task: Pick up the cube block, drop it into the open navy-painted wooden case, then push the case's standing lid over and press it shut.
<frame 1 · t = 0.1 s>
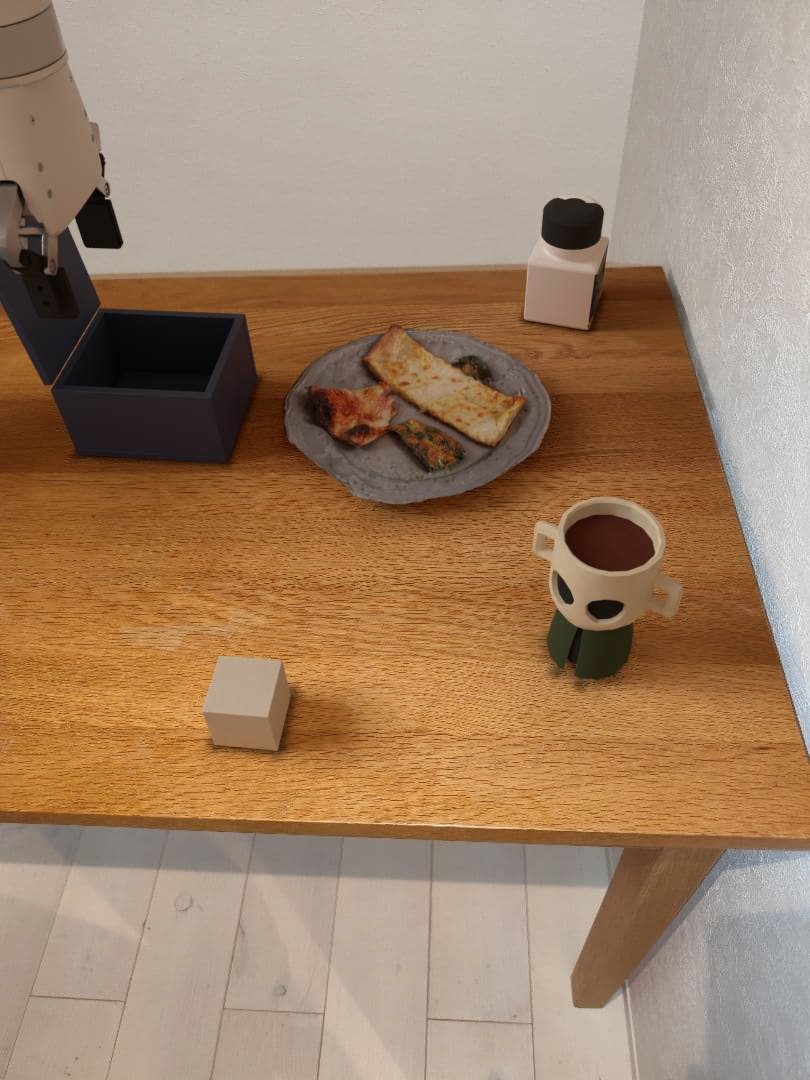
hand: (83, 280, 69), 19 cm above the table, tool pointing down, fingers open, 9 cm apart
lid: (39, 268, 77), point 16 cm above the table, hinge at 95.0°
food plate: (414, 423, 86), on the table
medicine bottle: (562, 309, 98), on the table
character mug: (587, 650, 68), on the table
cube block: (253, 719, 65), on the table
case: (171, 415, 88), on the table
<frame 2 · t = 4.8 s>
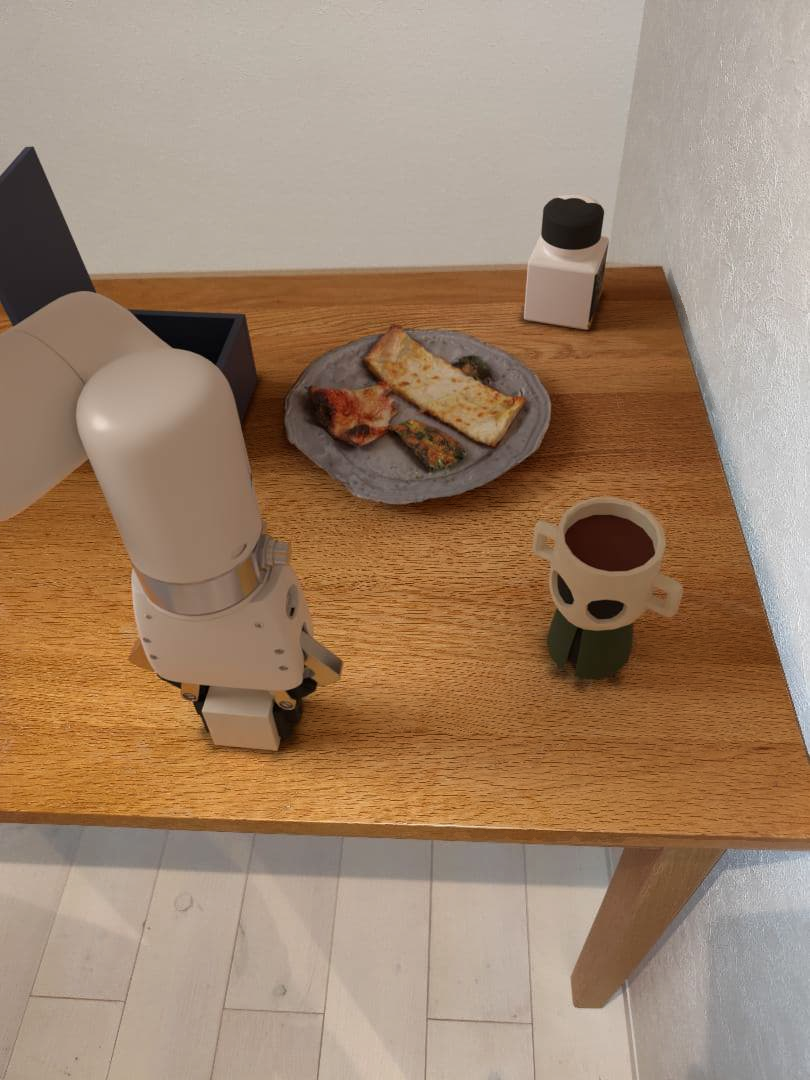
hand: (252, 717, 64), 0 cm above the table, tool pointing down, fingers closed on cube block, 4 cm apart
cube block: (253, 719, 65), on the table, touching gripper
everything else where it was.
when the fingers open (5 cm above the table, at t = 11.8 s): cube block drops 4 cm, resting on case.
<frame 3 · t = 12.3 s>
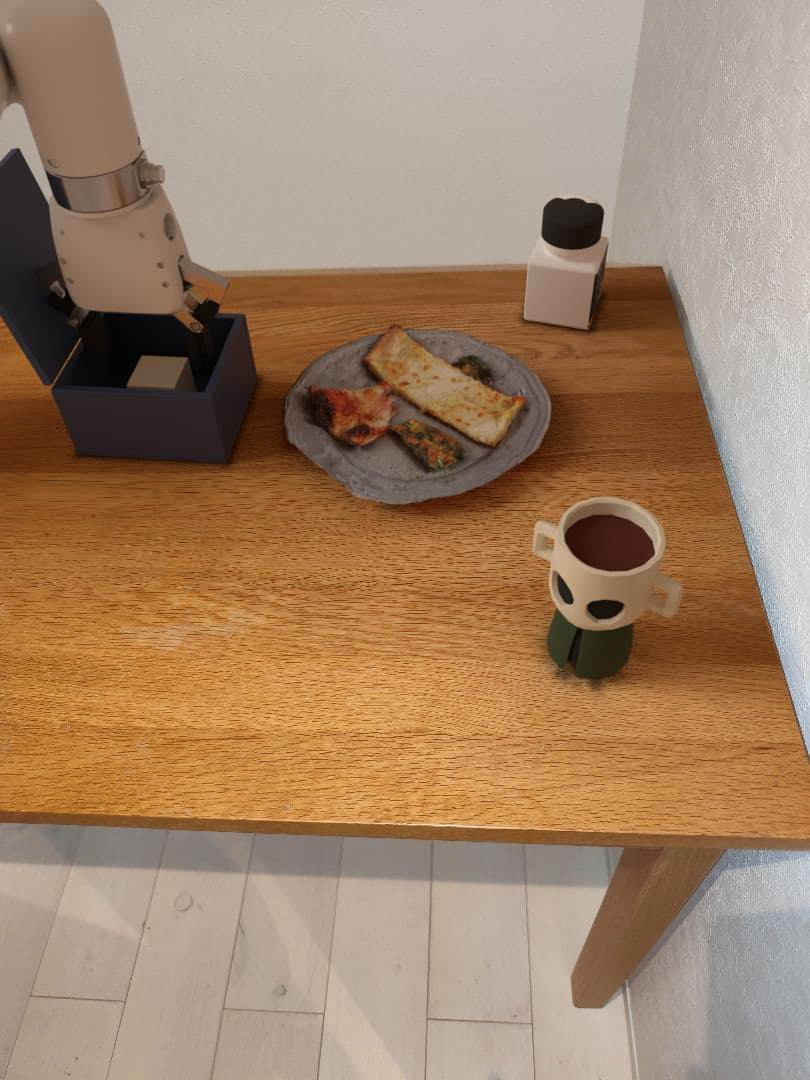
hand: (151, 357, 82), 7 cm above the table, tool pointing down, fingers open, 9 cm apart
lid: (31, 269, 77), point 16 cm above the table, hinge at 100.0°
cube block: (168, 409, 87), point 1 cm above the table, touching case
everything else where it was.
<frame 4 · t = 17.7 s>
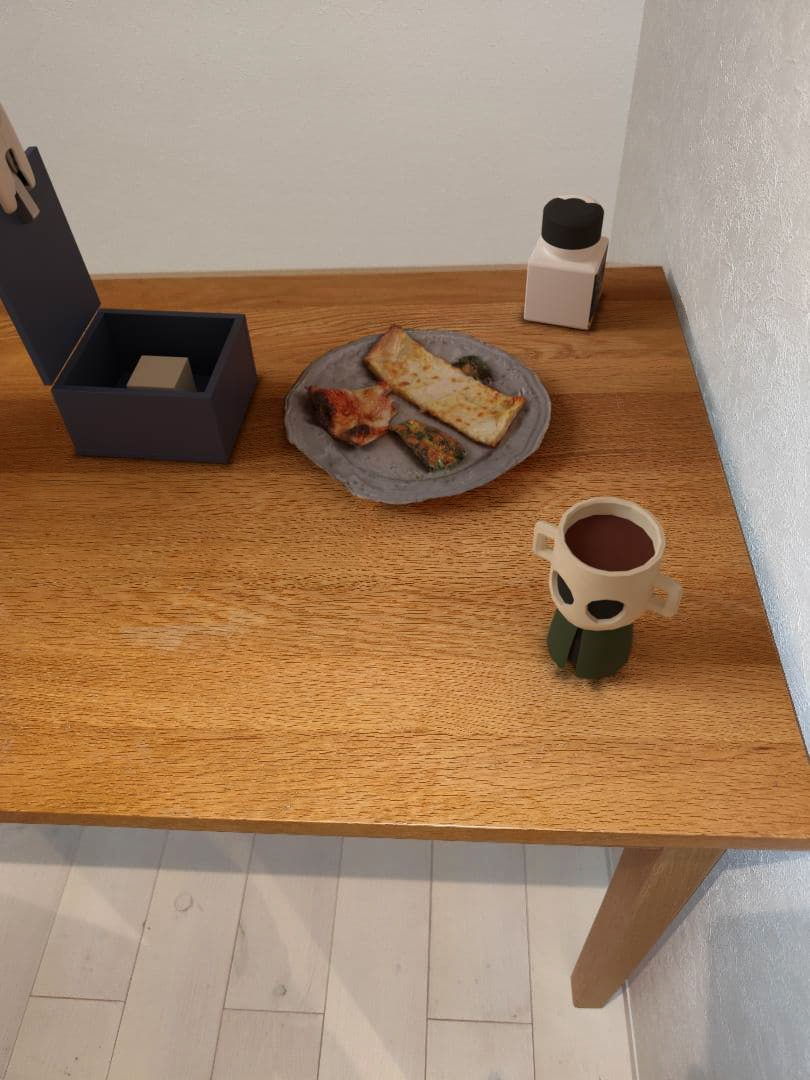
hand: (5, 281, 78), 14 cm above the table, tool pointing down, fingers closed
lid: (40, 268, 77), point 16 cm above the table, hinge at 93.8°, touching gripper
everything else where it was.
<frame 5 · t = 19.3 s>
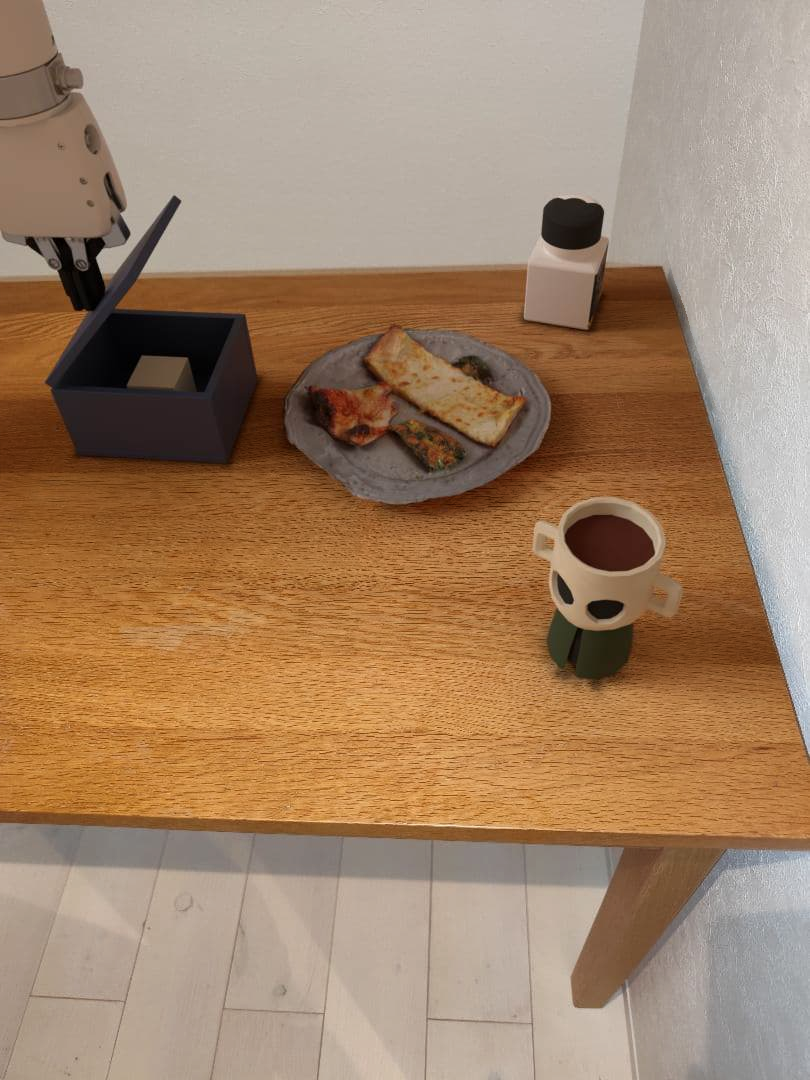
hand: (89, 302, 79), 13 cm above the table, tool pointing down, fingers closed
lid: (112, 292, 78), point 14 cm above the table, hinge at 46.2°, touching gripper
everything else where it was.
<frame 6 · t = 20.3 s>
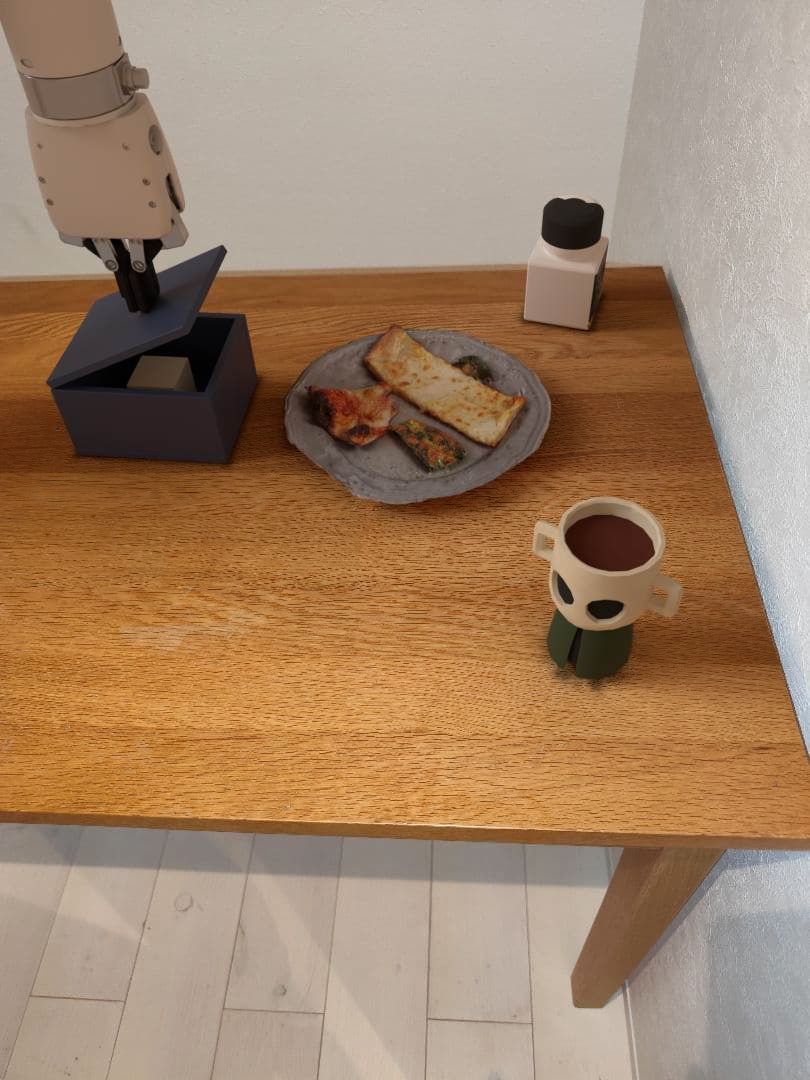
hand: (144, 303, 78), 13 cm above the table, tool pointing down, fingers closed
lid: (137, 315, 79), point 11 cm above the table, hinge at 24.9°, touching gripper
everything else where it was.
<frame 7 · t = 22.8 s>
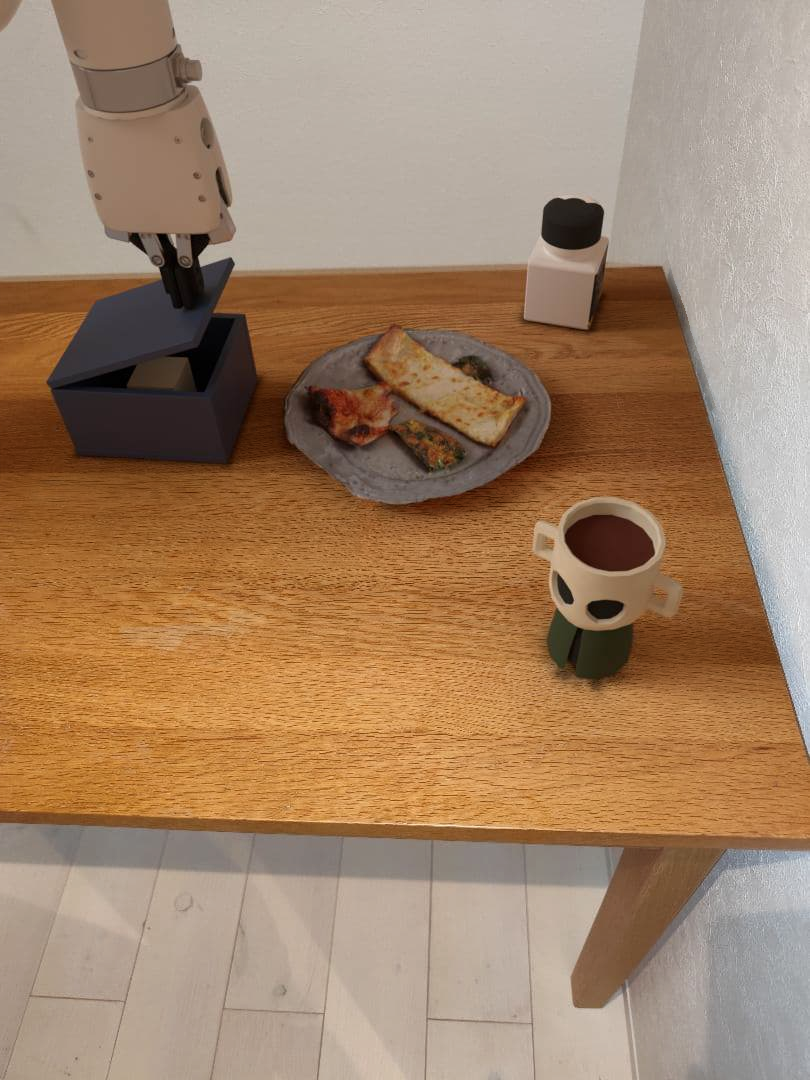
hand: (188, 299, 77), 13 cm above the table, tool pointing down, fingers closed
lid: (142, 321, 80), point 11 cm above the table, hinge at 19.9°, touching gripper
everything else where it was.
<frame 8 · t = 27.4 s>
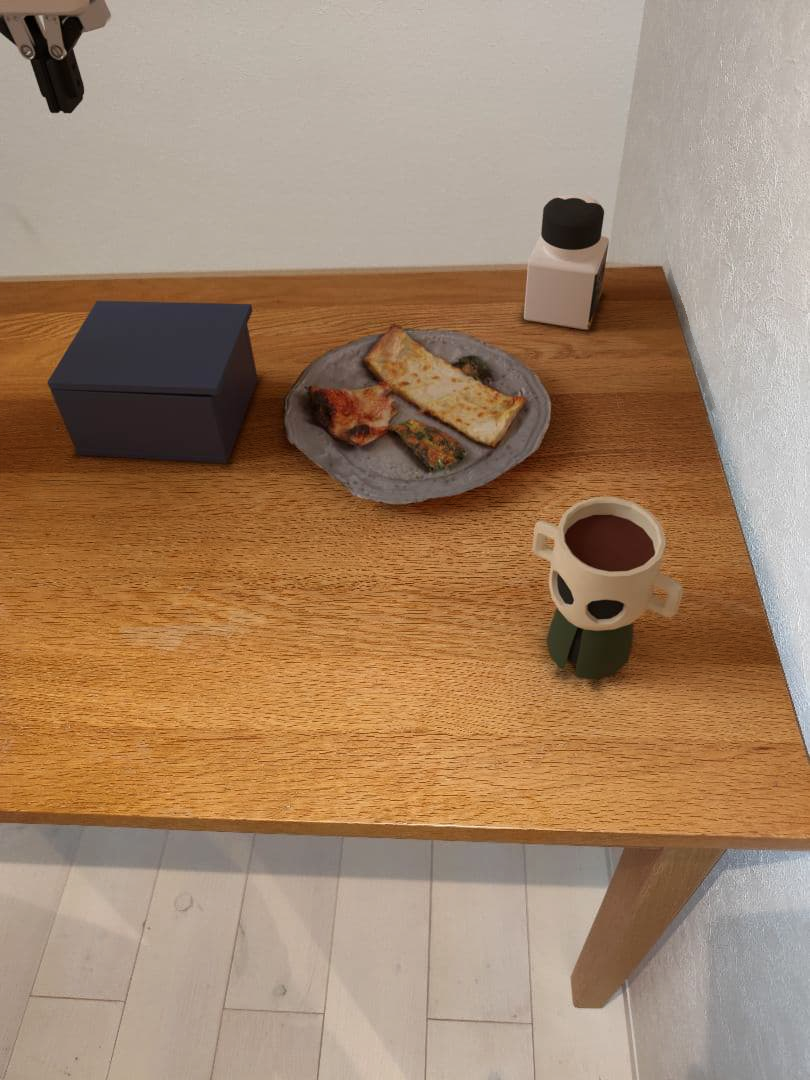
hand: (67, 105, 72), 27 cm above the table, tool pointing down, fingers closed
lid: (154, 345, 81), point 8 cm above the table, hinge at 1.1°
everything else where it was.
at the end: lid at +1° (first picture: +95°); cube block inside the target area in the case (0.0 cm from its centre), point 0.8 cm above the case's base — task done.
